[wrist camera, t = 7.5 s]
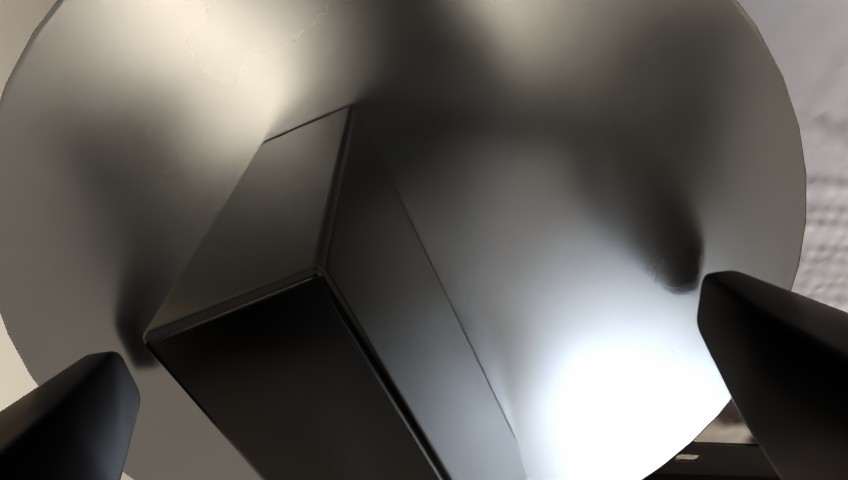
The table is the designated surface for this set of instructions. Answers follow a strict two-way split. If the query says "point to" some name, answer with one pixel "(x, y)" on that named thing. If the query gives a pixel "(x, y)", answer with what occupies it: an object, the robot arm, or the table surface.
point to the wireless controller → (718, 464)
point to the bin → (394, 226)
